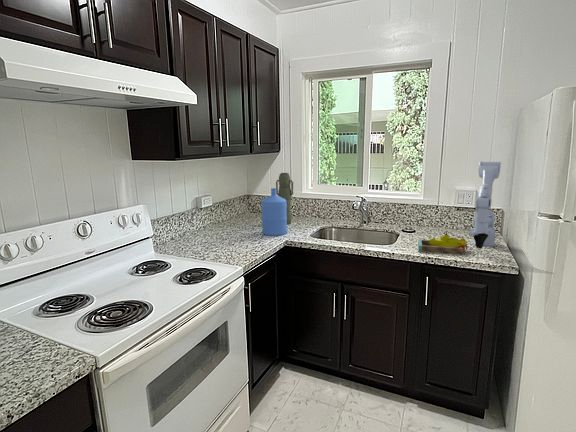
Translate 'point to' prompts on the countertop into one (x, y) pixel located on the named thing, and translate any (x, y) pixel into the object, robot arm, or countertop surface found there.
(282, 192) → the thermos
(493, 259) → the countertop surface
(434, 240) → the yellow piece
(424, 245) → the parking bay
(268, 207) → the water jug
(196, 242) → the countertop surface
